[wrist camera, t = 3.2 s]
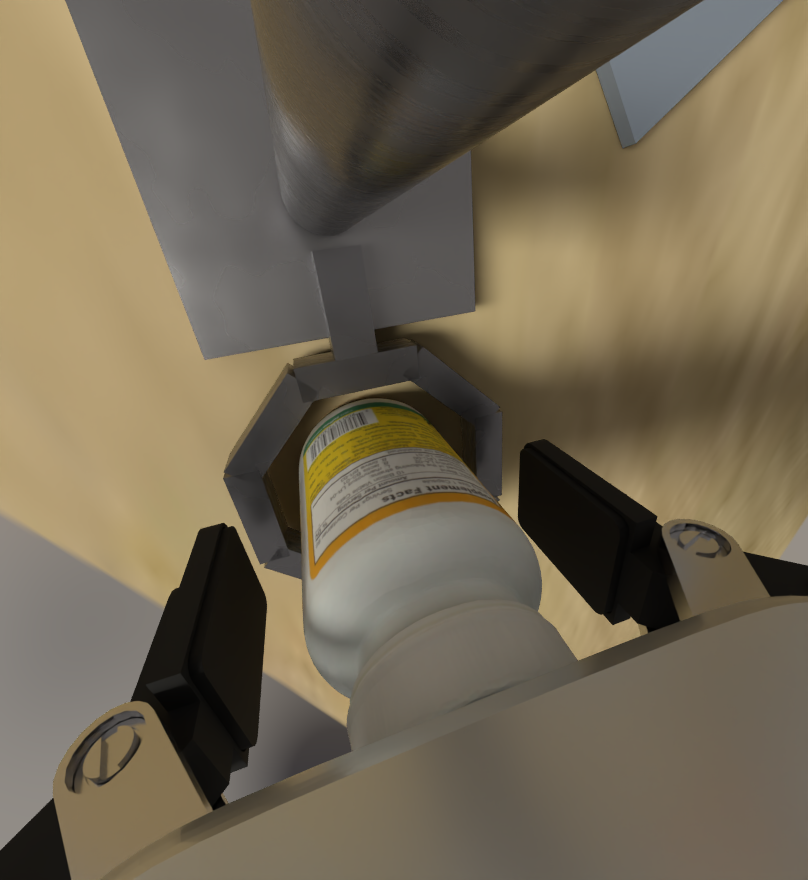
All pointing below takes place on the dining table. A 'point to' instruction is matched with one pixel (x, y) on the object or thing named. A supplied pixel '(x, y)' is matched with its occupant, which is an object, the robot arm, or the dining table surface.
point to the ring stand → (332, 181)
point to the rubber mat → (674, 62)
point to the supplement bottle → (412, 574)
